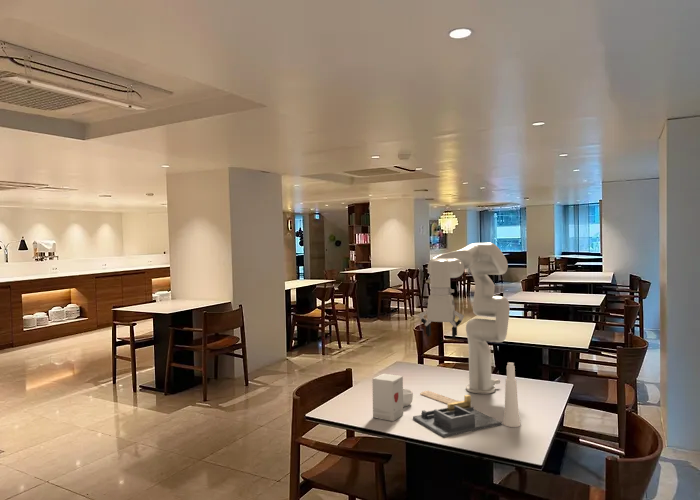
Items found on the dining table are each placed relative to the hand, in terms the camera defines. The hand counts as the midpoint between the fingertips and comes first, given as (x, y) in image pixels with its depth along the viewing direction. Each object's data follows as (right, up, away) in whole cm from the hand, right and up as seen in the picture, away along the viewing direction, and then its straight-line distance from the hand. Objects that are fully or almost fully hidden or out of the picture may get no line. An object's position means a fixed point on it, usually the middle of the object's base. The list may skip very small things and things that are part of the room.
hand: (441, 336), depth 187 cm
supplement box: (-20, -30, -1) cm, 37 cm away
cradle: (+4, -30, -9) cm, 31 cm away
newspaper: (+5, -30, +17) cm, 35 cm away
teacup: (-14, -30, +13) cm, 36 cm away
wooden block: (+7, -28, +1) cm, 29 cm away
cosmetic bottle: (+23, -30, -12) cm, 39 cm away
